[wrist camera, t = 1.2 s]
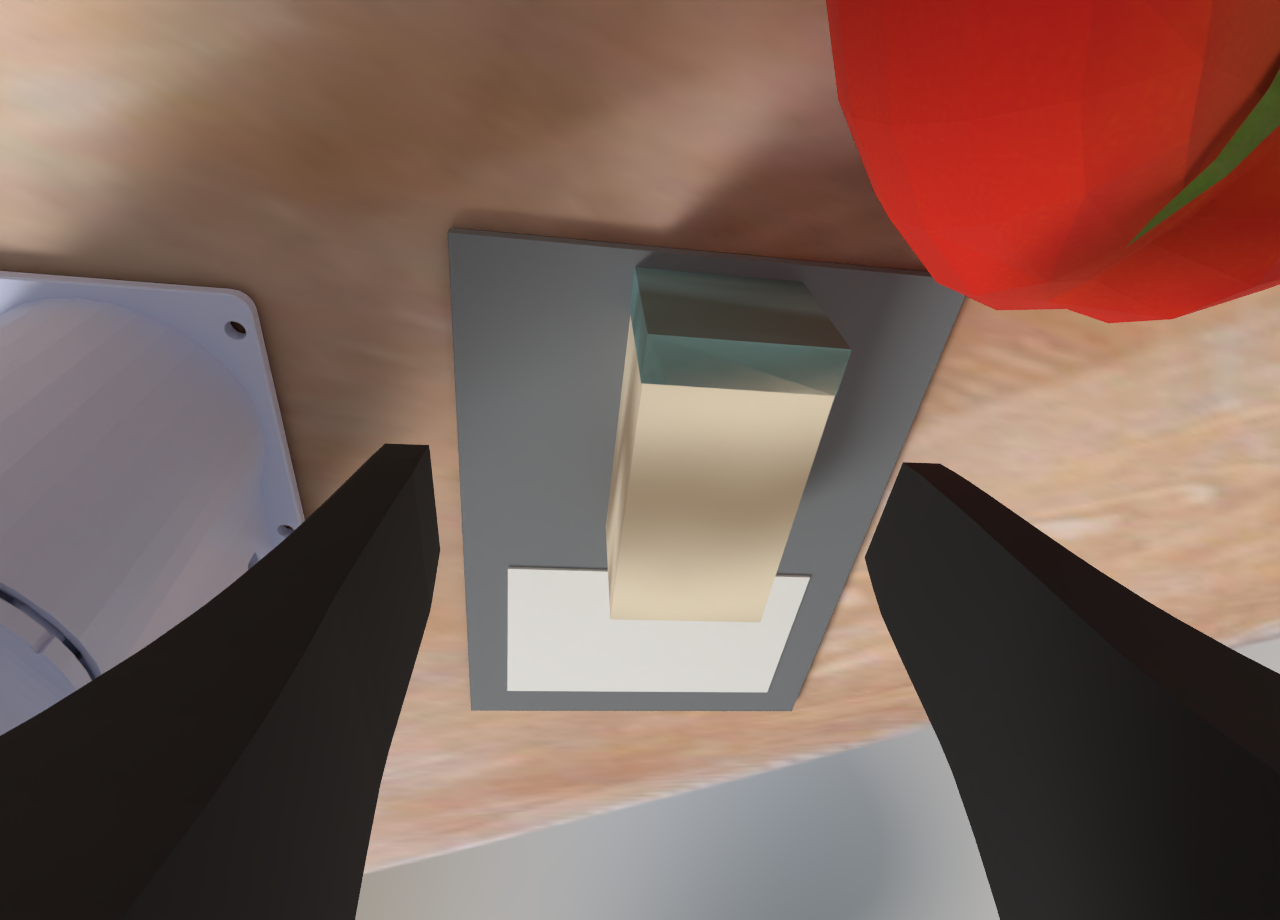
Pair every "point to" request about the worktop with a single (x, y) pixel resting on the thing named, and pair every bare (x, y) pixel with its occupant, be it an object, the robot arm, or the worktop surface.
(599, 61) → the worktop surface
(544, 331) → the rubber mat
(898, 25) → the tomato
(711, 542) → the green and cream block
